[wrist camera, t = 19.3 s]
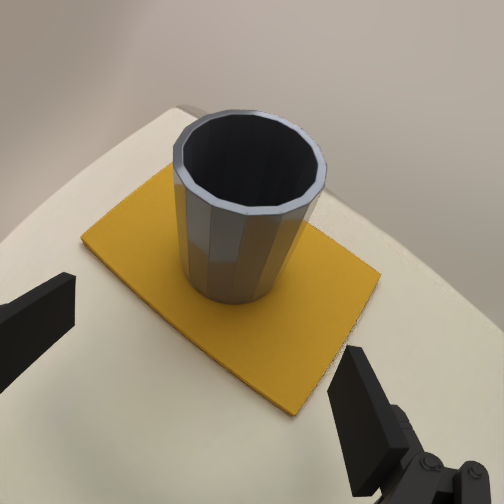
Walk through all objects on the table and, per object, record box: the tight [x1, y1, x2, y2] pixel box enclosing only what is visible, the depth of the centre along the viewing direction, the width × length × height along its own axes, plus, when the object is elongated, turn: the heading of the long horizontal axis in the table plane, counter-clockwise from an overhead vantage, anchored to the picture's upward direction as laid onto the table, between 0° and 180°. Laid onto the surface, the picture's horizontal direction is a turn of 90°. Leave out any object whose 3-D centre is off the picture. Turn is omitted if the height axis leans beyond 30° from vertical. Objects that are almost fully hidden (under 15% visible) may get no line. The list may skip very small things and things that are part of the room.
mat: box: [80, 162, 381, 416], centre depth 24 cm, size 20×13×1 cm, turn 54°
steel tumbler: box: [173, 110, 327, 305], centre depth 19 cm, size 7×7×10 cm
